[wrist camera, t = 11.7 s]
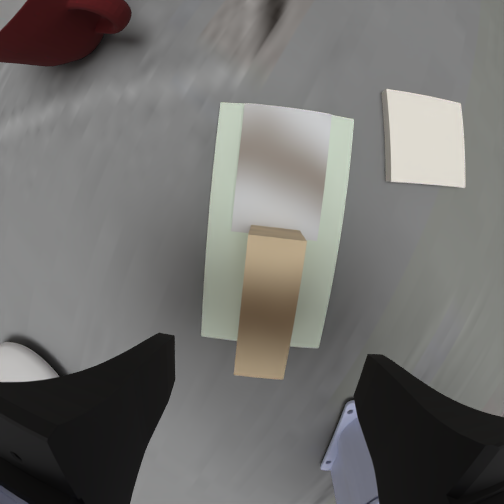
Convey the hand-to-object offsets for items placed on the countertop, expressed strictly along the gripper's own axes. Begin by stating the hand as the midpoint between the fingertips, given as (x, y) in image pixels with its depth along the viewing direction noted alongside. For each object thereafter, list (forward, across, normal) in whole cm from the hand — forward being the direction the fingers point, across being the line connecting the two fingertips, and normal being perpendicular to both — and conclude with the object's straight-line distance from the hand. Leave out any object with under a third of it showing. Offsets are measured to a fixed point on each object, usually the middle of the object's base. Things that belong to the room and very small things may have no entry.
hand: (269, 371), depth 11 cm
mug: (+10, +15, -17) cm, 24 cm away
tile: (+9, -10, -8) cm, 16 cm away
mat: (+10, 0, -4) cm, 10 cm away
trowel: (+9, 0, 0) cm, 9 cm away
